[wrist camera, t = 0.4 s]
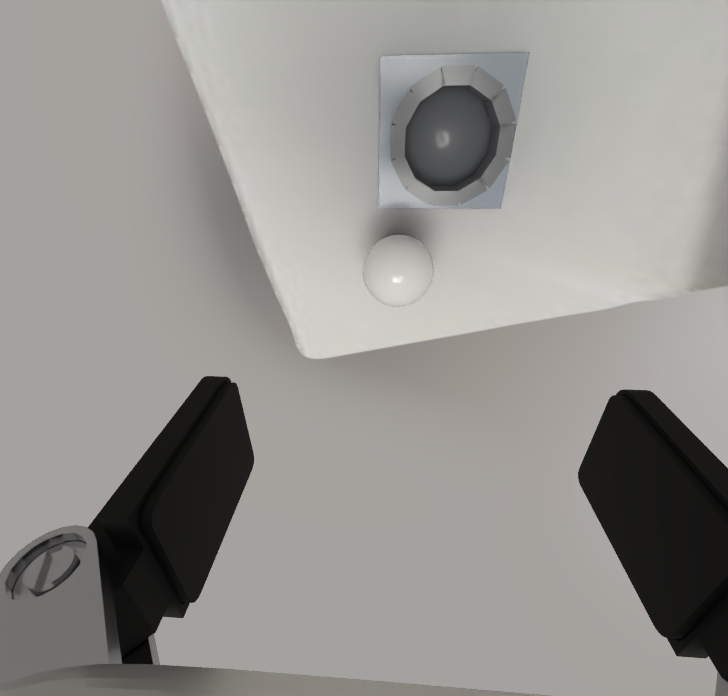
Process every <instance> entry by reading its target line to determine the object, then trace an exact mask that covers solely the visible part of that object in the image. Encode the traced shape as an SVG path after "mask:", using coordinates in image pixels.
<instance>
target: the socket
mask: <svg viewBox="0 0 728 696" xmlns="http://www.w3.org/2000/svg"><path fill="white" fill-rule="evenodd" d="M528 57H529V52H516V53H477V54H438V55H400V56H380V120H379V208H467V209H501V205H502V200H503V194H504V189H505V183H506V178H507V172H508V167H509V161H510V157H511V151H512V146H513V140H514V135H515V129H516V123H517V117H518V112H519V106H520V101H521V96H522V90H523V85H524V79H525V74H526V68H527V63H528Z"/></svg>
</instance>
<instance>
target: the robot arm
mask: <svg viewBox="0 0 728 696" xmlns="http://www.w3.org/2000/svg"><path fill="white" fill-rule="evenodd" d="M253 464H254V455H253V450H252V445H251V441H250V437H249V433H248V429H247V424H246V420H245V416H244V412H243V407H242V403H241V399H240V395H239V391H238V387H237V384H236V383H231V380H230V379H229V378H228V377H214V376H206V377H204V378H202V379H201V381H200V382H199V383H198V385H197V386H196V387H195V389H194V390H193V391H192V393H191V394H190V395H189V397H188V398H187V399H186V400H185V402H184V403H183V405H182V406H181V407H180V408H179V410H178V411H177V412H176V414H175V415H174V416H173V417H172V419H171V420H170V421H169V423H168V424H167V425H166V426H165V428H164V429H163V430H162V432H161V433H160V434H159V435H158V437H157V438H156V439H155V441H154V442H153V443H152V445H151V446H150V447H149V448H148V450H147V451H146V452H145V454H144V455H143V456H142V458H141V459H140V460H139V462H138V463H137V464H136V465H135V467H134V468H133V470H132V471H131V472H130V473H129V475H128V476H127V477H126V478H125V480H124V481H123V483H122V484H121V485H120V487H119V488H118V489H117V490H116V492H115V493H114V494H113V495H112V497H111V498H110V500H109V501H108V502H107V503H106V505H105V506H104V507H103V508H102V510H101V511H100V513H99V514H98V515H97V516H96V518H95V519H94V520H93V522H92V523H91V524H90V526H89V527H88V528H87V527H83V526H77V525H75V526H68V527H62V528H59V529H56V530H53V531H51V532H48V533H46V534H44V535H42V536H41V537H39V538H37V539H35V540H34V541H32V542H31V543H29V544H28V545H27V546H25V547H24V548H23V549H21V550H20V551H19V552H18V553H17V554H16V555H15V556H14V557H13V558H12V559H11V560H10V561H9V562H8V563H7V564H6V565H5V567H4V568H3V570H2V572H1V573H0V696H547V695H535V694H523V693H511V692H500V691H488V690H477V689H465V688H454V687H442V686H430V685H418V684H406V683H395V682H383V681H370V680H359V679H346V678H333V677H321V676H309V675H296V674H284V673H271V672H259V671H246V670H234V669H218V668H202V667H183V666H168V665H160V663H159V657H158V653H157V647H156V643H155V637H154V633H155V632H156V630H157V628H158V626H159V623H160V621H161V619H162V617H175V618H183V617H184V615H185V613H186V610H187V608H188V606H189V603H193V602H195V601H196V600H197V599H198V597H199V595H200V593H201V591H202V589H203V586H204V584H205V581H206V579H207V577H208V574H209V572H210V569H211V567H212V565H213V562H214V560H215V557H216V555H217V553H218V550H219V548H220V545H221V543H222V541H223V538H224V536H225V533H226V531H227V529H228V526H229V523H230V521H231V519H232V516H233V514H234V511H235V509H236V506H237V504H238V502H239V500H240V497H241V494H242V492H243V490H244V487H245V485H246V483H247V480H248V478H249V475H250V473H251V471H252V468H253ZM578 478H579V483H580V485H581V487H582V489H583V491H584V493H585V495H586V497H587V499H588V501H589V502H590V504H591V506H592V508H593V510H594V512H595V514H596V516H597V518H598V520H599V522H600V523H601V525H602V527H603V529H604V531H605V533H606V535H607V537H608V539H609V541H610V542H611V544H612V546H613V548H614V550H615V552H616V554H617V556H618V558H619V560H620V562H621V563H622V565H623V567H624V569H625V571H626V573H627V575H628V577H629V579H630V581H631V582H632V585H633V586H634V588H635V590H636V592H637V594H638V596H639V598H640V600H641V602H642V603H643V605H644V607H645V609H646V611H647V613H648V615H649V617H650V619H651V621H652V623H653V625H654V626H655V628H656V629H657V631H658V632H659V633H660V634H661V635H662V636H664V637H666V638H667V639H668V641H669V643H670V644H671V646H672V648H673V650H674V652H675V654H676V656H682V657H695V658H696V657H697V658H707V657H708V656H709V657H710V659H711V660H712V662H713V664H714V666H715V667H716V669H717V670H718V674H717V683H716V692H715V696H728V468H727V467H726V466H725V465H724V464H723V463H722V462H721V461H720V460H719V459H718V458H717V457H716V456H715V455H714V454H713V453H712V452H711V451H710V450H709V449H708V448H707V447H706V446H705V445H704V444H703V443H702V442H701V441H700V440H699V439H698V438H697V437H696V436H695V435H694V434H693V433H692V432H691V431H690V430H689V429H688V428H687V427H686V426H685V425H684V424H683V423H682V421H680V419H679V418H677V417H676V416H675V414H674V413H673V412H672V411H671V410H670V409H668V407H667V406H666V405H665V404H664V403H663V402H662V401H661V400H660V399H659V398H658V397H657V396H656V395H655V394H654V393H652V392H651V391H647V390H620V391H619V392H618V393H617V394H616V395H615V396H612V397H610V399H609V401H608V403H607V405H606V408H605V410H604V412H603V415H602V417H601V419H600V422H599V424H598V426H597V429H596V431H595V433H594V436H593V438H592V441H591V443H590V445H589V447H588V450H587V452H586V454H585V457H584V459H583V461H582V464H581V466H580V469H579V472H578Z"/></svg>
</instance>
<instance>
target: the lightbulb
mask: <svg viewBox="0 0 728 696" xmlns="http://www.w3.org/2000/svg"><path fill="white" fill-rule="evenodd" d="M433 273H434V267H433V261H432V258H431V255H430V253H429V251H428V250H427V249H426V247H425V246H424V245H423V244H422V243H421V242H419V241H418V240H416V239H415V238H412V237H410V236H406V235H400V234H396V235H392V236H388V237H385V238H383V239H381V240H380V241H378V242H377V243H376V244H375V245H373V247H372V248H371V249H370V250H369V252H368V253H367V255H366V258H365V260H364V264H363V279H364V282H365V285H366V288H367V289H368V291H369V293H370V294H371V295H372V296H373V297H374V298H375V299H376V300H377V301H379V302H381V303H382V304H385V305H388V306H392V307H403V306H407V305H410V304H413V303H415V302H416V301H418V300H419V299H420V298H422V297H423V296H424V295H425V293H426V292H427V291H428V289H429V287H430V285H431V283H432V279H433Z"/></svg>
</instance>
